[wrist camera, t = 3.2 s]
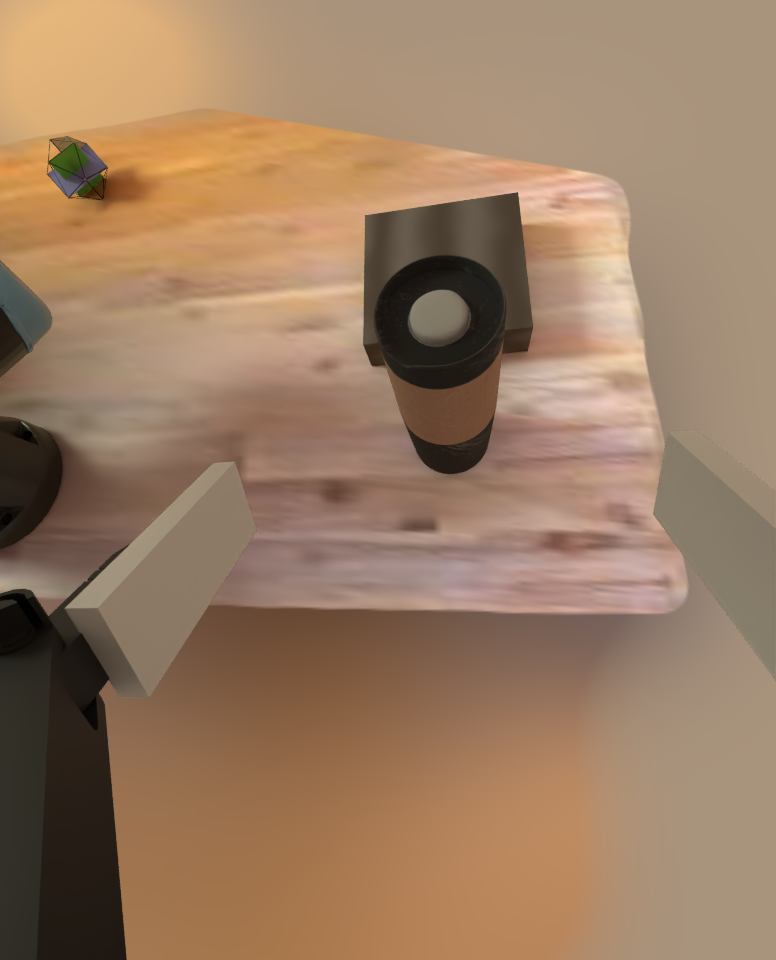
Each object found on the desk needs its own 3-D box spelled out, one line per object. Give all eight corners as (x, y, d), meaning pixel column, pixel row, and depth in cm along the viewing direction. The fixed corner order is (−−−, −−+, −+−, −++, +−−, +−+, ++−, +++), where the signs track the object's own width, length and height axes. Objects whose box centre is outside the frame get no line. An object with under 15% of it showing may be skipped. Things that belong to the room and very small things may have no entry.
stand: (371, 365, 48) (363, 344, 44) (372, 244, 52) (365, 215, 48) (527, 350, 45) (532, 327, 41) (514, 224, 50) (517, 192, 46)
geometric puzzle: (120, 180, 60) (65, 114, 55) (80, 212, 59) (20, 148, 55) (124, 189, 66) (74, 130, 61) (87, 218, 65) (34, 161, 61)
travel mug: (488, 400, 44) (502, 242, 25) (494, 474, 42) (515, 362, 23) (411, 407, 45) (370, 261, 27) (413, 479, 43) (370, 376, 24)
